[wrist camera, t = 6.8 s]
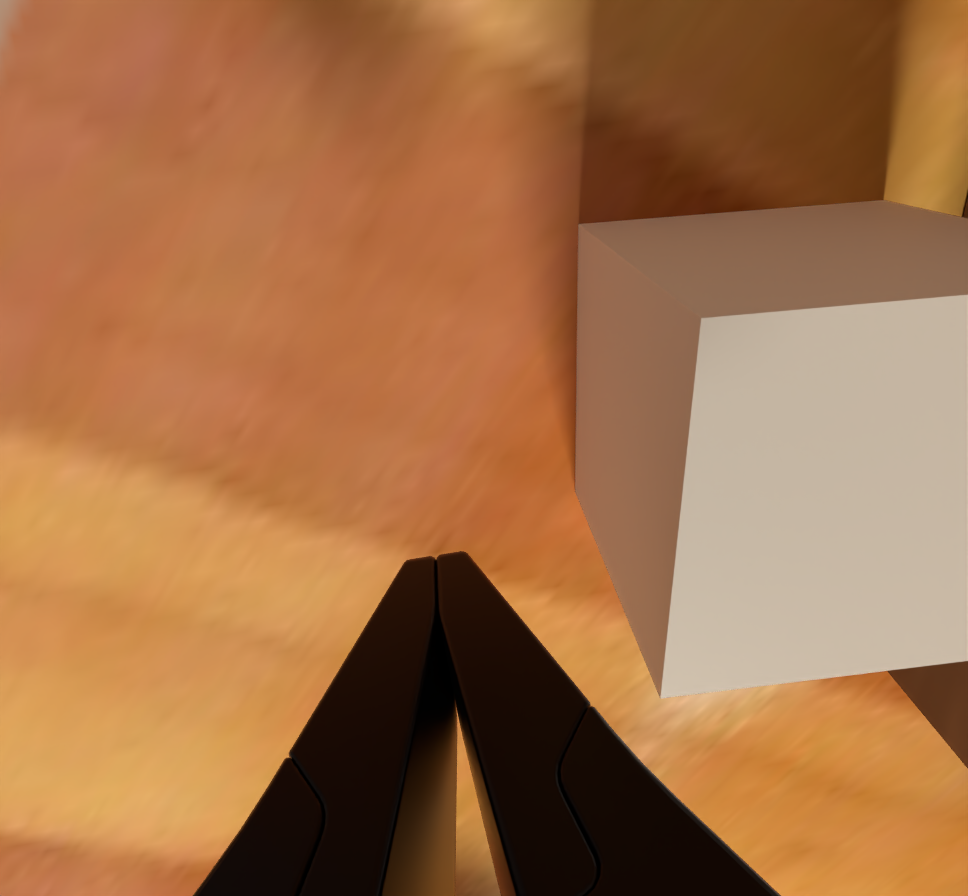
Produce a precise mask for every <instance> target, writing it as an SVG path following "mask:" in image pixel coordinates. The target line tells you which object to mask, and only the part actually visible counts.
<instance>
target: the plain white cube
mask: <svg viewBox="0 0 968 896" xmlns="http://www.w3.org/2000/svg"><path fill="white" fill-rule="evenodd" d="M575 493H576V495H577V497H578V500H579V502H580V505H581V507H582V510H583V512H584V514H585V517H586V519H587V522H588V524H589V527H590V529H591V531H592V534H593V536H594V539H595V541H596V544H597V546H598V548H599V551H600V553H601V556H602V558H603V561H604V563H605V565H606V568H607V570H608V573H609V575H610V578H611V580H612V582H613V585H614V587H615V590H616V592H617V595H618V597H619V599H620V602H621V604H622V607H623V609H624V612H625V614H626V616H627V619H628V621H629V624H630V626H631V628H632V631H633V633H634V636H635V638H636V641H637V643H638V645H639V648H640V650H641V653H642V655H643V658H644V660H645V662H646V665H647V667H648V670H649V672H650V675H651V677H652V679H653V682H654V684H655V687H656V689H657V692H658V694H659V696H660V698H669V697H677V696H685V695H693V694H701V693H709V692H718V691H726V690H734V689H742V688H750V687H759V686H767V685H775V684H783V683H791V682H799V681H808V680H816V679H824V678H832V677H840V676H848V675H857V674H865V673H873V672H881V671H889V670H897V669H906V668H914V667H922V666H930V665H938V664H946V663H955V662H963V661H968V218H963V217H958V216H954V215H949V214H945V213H940V212H936V211H931V210H926V209H922V208H917V207H913V206H908V205H904V204H899V203H894V202H890V201H885V200H877V201H865V202H852V203H839V204H827V205H814V206H801V207H788V208H776V209H763V210H750V211H737V212H725V213H712V214H699V215H686V216H674V217H661V218H648V219H635V220H623V221H610V222H597V223H585V224H578V290H577V374H576V458H575Z"/></svg>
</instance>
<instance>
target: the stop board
mask: <svg viewBox="0 0 968 896" xmlns="http://www.w3.org/2000/svg"><path fill="white" fill-rule="evenodd" d="M963 218H968V198H967V203H966V207H965V211H964V216H963ZM888 672H889V674H890V675H891V676H892V677H893V678H894V680H895V681H896V682H897V683H898V684H899V686H900V687H901V688H902V689H903V691H904V692H905V693H906V694H907V695H908V697H909V698H910V699H911V700H912V701H913V703H914V704H915V705H916V706H917V708H918V709H919V710H920V711H921V712H922V714H923V715H924V716H925V717H926V718H927V720H928V721H929V722H930V723H931V724H932V726H933V727H934V728H935V729H936V731H937V732H938V733H939V734H940V735H941V737H942V738H943V739H944V740H945V741H946V743H947V744H948V745H949V746H950V747H951V749H952V750H953V751H954V752H955V754H956V755H957V756H958V757H959V758H960V760H961V761H962V762H963V763H964V764H965V766H966V767H967V768H968V661H963V662H955V663H946V664H938V665H930V666H922V667H914V668H906V669H897V670H889V671H888Z"/></svg>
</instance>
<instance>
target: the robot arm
mask: <svg viewBox="0 0 968 896" xmlns="http://www.w3.org/2000/svg"><path fill="white" fill-rule="evenodd" d="M456 707H457V711H456ZM457 712H458V717H459V722H460V726H461V731H462V736H463V740H464V744H465V748H466V752H467V756H468V761H469V765H470V769H471V773H472V777H473V781H474V785H475V790H476V794H477V798H478V802H479V806H480V810H481V814H482V819H483V823H484V827H485V831H486V835H487V839H488V843H489V848H490V852H491V856H492V860H493V864H494V868H495V872H496V877H497V881H498V885H499V889H500V893H501V896H781V895H780V894H779V893H778V892H776V891H775V890H774V889H773V888H772V887H771V886H770V885H769V884H768V883H767V882H766V881H765V880H764V879H763V878H761V877H760V876H759V875H758V874H757V873H756V872H755V871H754V870H753V869H752V868H751V867H750V866H749V865H748V864H747V863H746V862H745V861H744V860H742V859H741V858H740V857H739V856H738V855H737V854H736V853H735V852H734V851H733V850H732V849H731V848H730V847H729V846H728V845H727V844H726V843H725V842H723V841H722V840H721V839H720V838H719V837H718V836H717V835H716V834H715V833H714V832H713V831H712V830H711V829H710V828H709V827H708V826H707V825H705V824H704V823H703V822H702V821H701V820H700V819H699V818H698V817H697V816H696V815H695V814H694V813H693V812H692V811H691V810H690V809H689V808H688V807H686V806H685V805H684V804H683V803H682V802H681V801H680V800H679V799H678V798H677V797H676V796H675V795H674V794H673V793H672V792H671V791H670V790H669V789H668V788H667V787H666V786H665V785H664V784H663V783H662V782H661V781H660V780H659V779H658V778H657V777H656V776H655V775H654V774H653V773H652V772H651V771H650V770H649V769H648V768H647V767H646V766H645V765H644V764H643V763H642V762H641V761H640V760H639V759H638V758H637V756H636V755H635V754H634V753H633V752H632V751H631V750H630V749H629V747H628V746H627V745H626V744H625V743H624V742H623V741H622V739H621V738H620V737H619V736H618V735H617V734H616V733H615V732H614V730H613V729H612V728H611V727H610V726H609V724H608V723H607V722H606V721H605V720H604V718H603V717H602V716H601V715H600V713H599V712H598V711H597V710H596V709H595V708H594V707H592V706H591V705H590V702H589V701H588V699H587V698H586V697H585V696H584V695H583V693H582V692H581V691H580V690H579V688H578V687H577V686H576V685H575V684H574V682H573V681H572V680H571V679H570V678H569V676H568V675H567V674H566V673H565V671H564V670H563V669H562V668H561V667H560V665H559V664H558V663H557V662H556V660H555V659H554V658H553V657H552V656H551V654H550V653H549V652H548V651H547V650H546V648H545V647H544V646H543V645H542V643H541V642H540V641H539V640H538V639H537V637H536V636H535V635H534V634H533V633H532V631H531V630H530V629H529V628H528V626H527V625H526V624H525V623H524V622H523V620H522V619H521V618H520V617H519V616H518V614H517V613H516V612H515V611H514V609H513V608H512V607H511V606H510V605H509V603H508V602H507V601H506V600H505V599H504V597H503V596H502V595H501V594H500V592H499V591H498V590H497V589H496V588H495V586H494V585H493V584H492V583H491V581H490V580H489V579H488V578H487V577H486V575H485V574H484V573H483V572H482V571H481V569H480V568H479V567H478V566H477V564H476V563H475V562H474V561H473V560H472V558H471V557H470V556H469V555H468V554H467V553H466V552H464V551H460V552H454V553H448V554H441V555H439V556H438V557H437V559H435V558H434V557H432V556H429V557H422V558H416V559H410V560H407V561H406V562H404V564H403V565H402V567H401V569H400V570H399V572H398V574H397V575H396V577H395V579H394V580H393V582H392V584H391V585H390V587H389V588H388V590H387V592H386V593H385V595H384V597H383V598H382V600H381V602H380V603H379V605H378V607H377V608H376V610H375V612H374V613H373V615H372V617H371V618H370V620H369V621H368V623H367V625H366V626H365V628H364V630H363V631H362V633H361V635H360V636H359V638H358V640H357V641H356V643H355V645H354V646H353V648H352V650H351V651H350V653H349V654H348V656H347V658H346V659H345V661H344V663H343V664H342V666H341V668H340V669H339V671H338V673H337V674H336V676H335V678H334V679H333V681H332V683H331V684H330V686H329V687H328V689H327V691H326V692H325V694H324V696H323V697H322V699H321V701H320V702H319V704H318V706H317V707H316V709H315V711H314V712H313V714H312V716H311V717H310V719H309V720H308V722H307V724H306V725H305V727H304V729H303V730H302V732H301V734H300V735H299V737H298V739H297V740H296V742H295V744H294V745H293V747H292V749H291V750H290V752H289V757H290V758H286V759H285V760H284V761H283V763H282V764H281V766H280V768H279V769H278V771H277V773H276V774H275V776H274V778H273V779H272V781H271V783H270V784H269V786H268V787H267V789H266V791H265V792H264V794H263V795H262V797H261V798H260V800H259V801H258V803H257V805H256V806H255V808H254V809H253V811H252V812H251V814H250V815H249V817H248V819H247V820H246V822H245V823H244V825H243V826H242V828H241V829H240V831H239V832H238V834H237V835H236V836H235V838H234V839H233V841H232V842H231V843H230V845H229V846H228V848H227V849H226V851H225V852H224V853H223V855H222V856H221V858H220V859H219V860H218V862H217V863H216V865H215V866H214V867H213V869H212V870H211V872H210V873H209V874H208V876H207V877H206V879H205V880H204V881H203V883H202V884H201V885H200V887H199V888H198V889H197V891H196V892H195V893H194V895H193V896H455V860H456V789H457Z"/></svg>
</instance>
